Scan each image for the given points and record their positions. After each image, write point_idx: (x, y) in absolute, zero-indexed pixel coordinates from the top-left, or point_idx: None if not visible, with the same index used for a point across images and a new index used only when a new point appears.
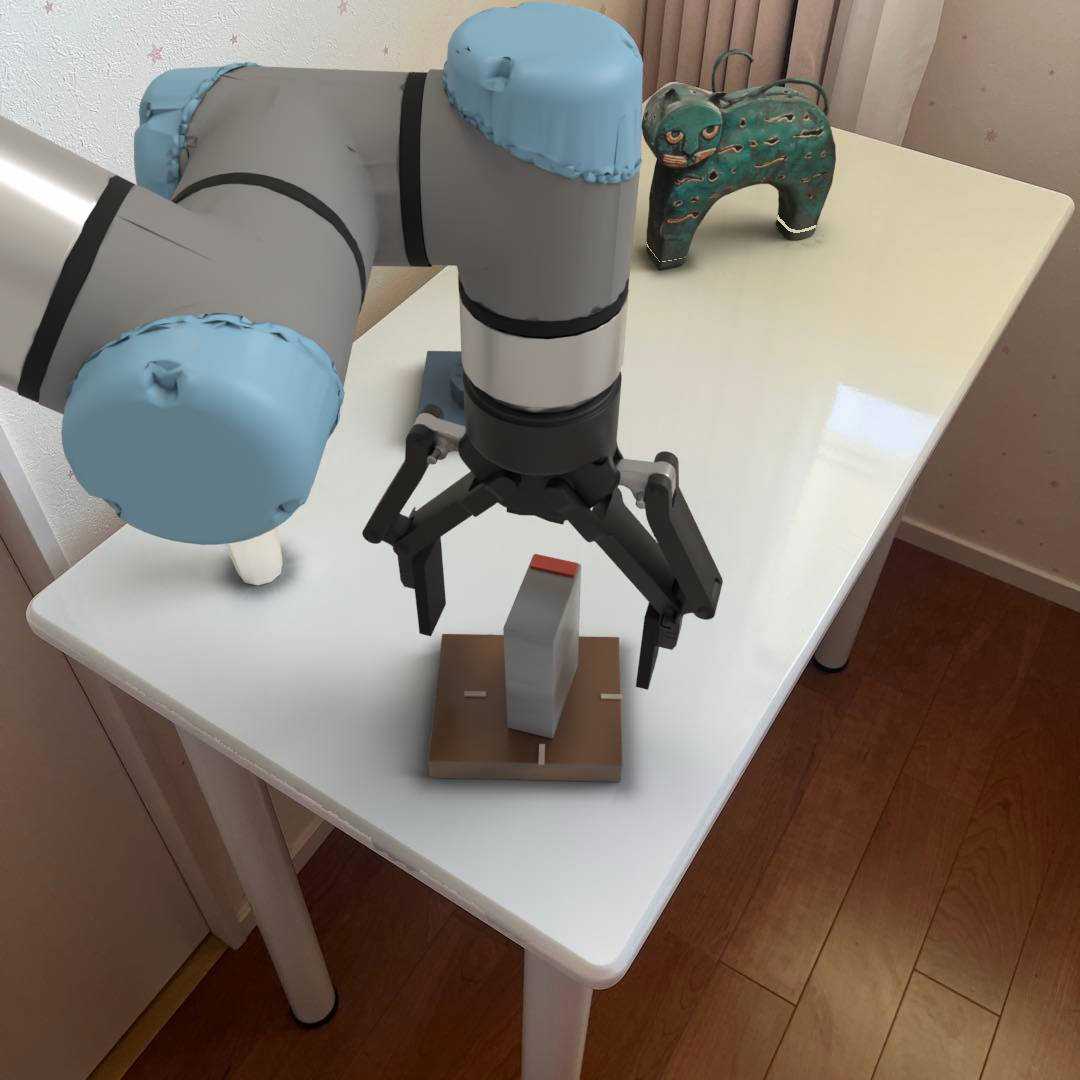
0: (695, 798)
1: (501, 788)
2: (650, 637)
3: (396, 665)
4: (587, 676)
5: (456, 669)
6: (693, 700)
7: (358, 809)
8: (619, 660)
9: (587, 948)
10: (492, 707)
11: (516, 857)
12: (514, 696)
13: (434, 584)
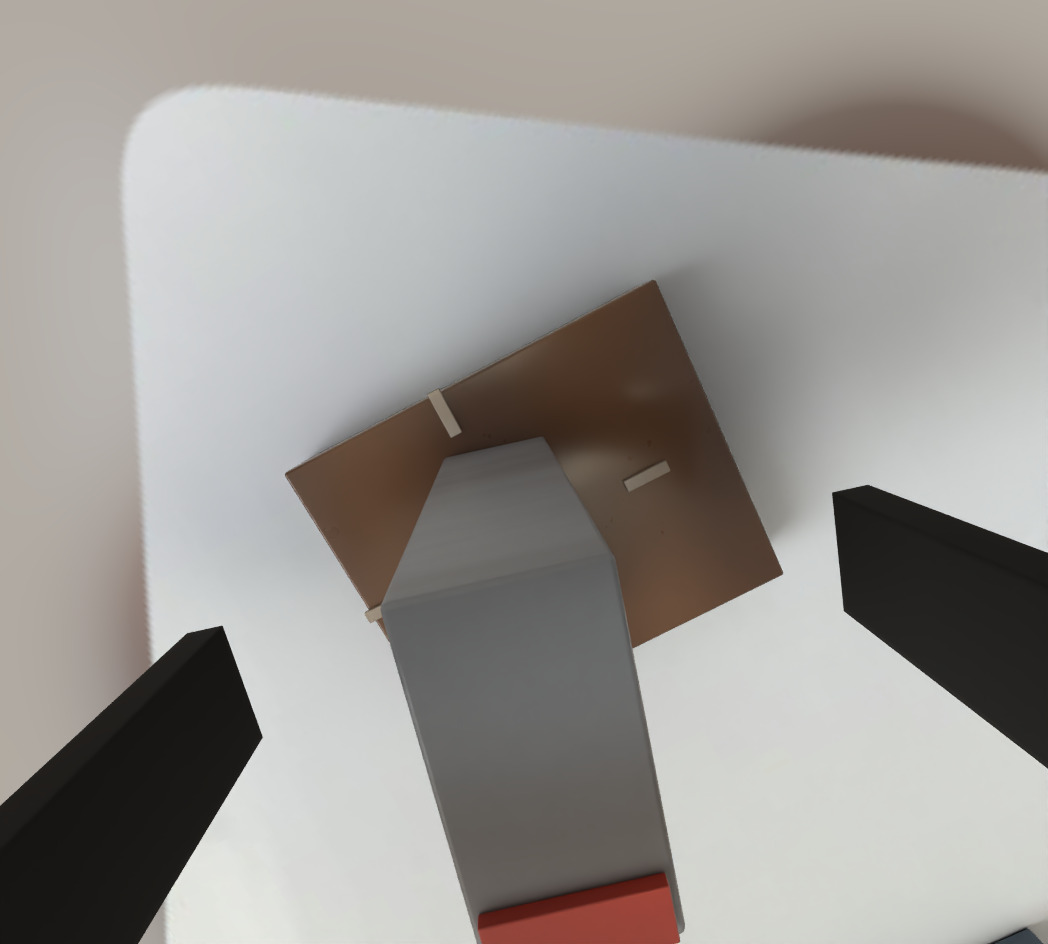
0: (165, 498)
1: (501, 336)
2: (5, 818)
3: (825, 480)
4: None
5: (713, 511)
6: (278, 682)
7: (731, 150)
8: None
9: (170, 100)
10: (597, 465)
11: (396, 212)
12: (533, 463)
13: (971, 626)
